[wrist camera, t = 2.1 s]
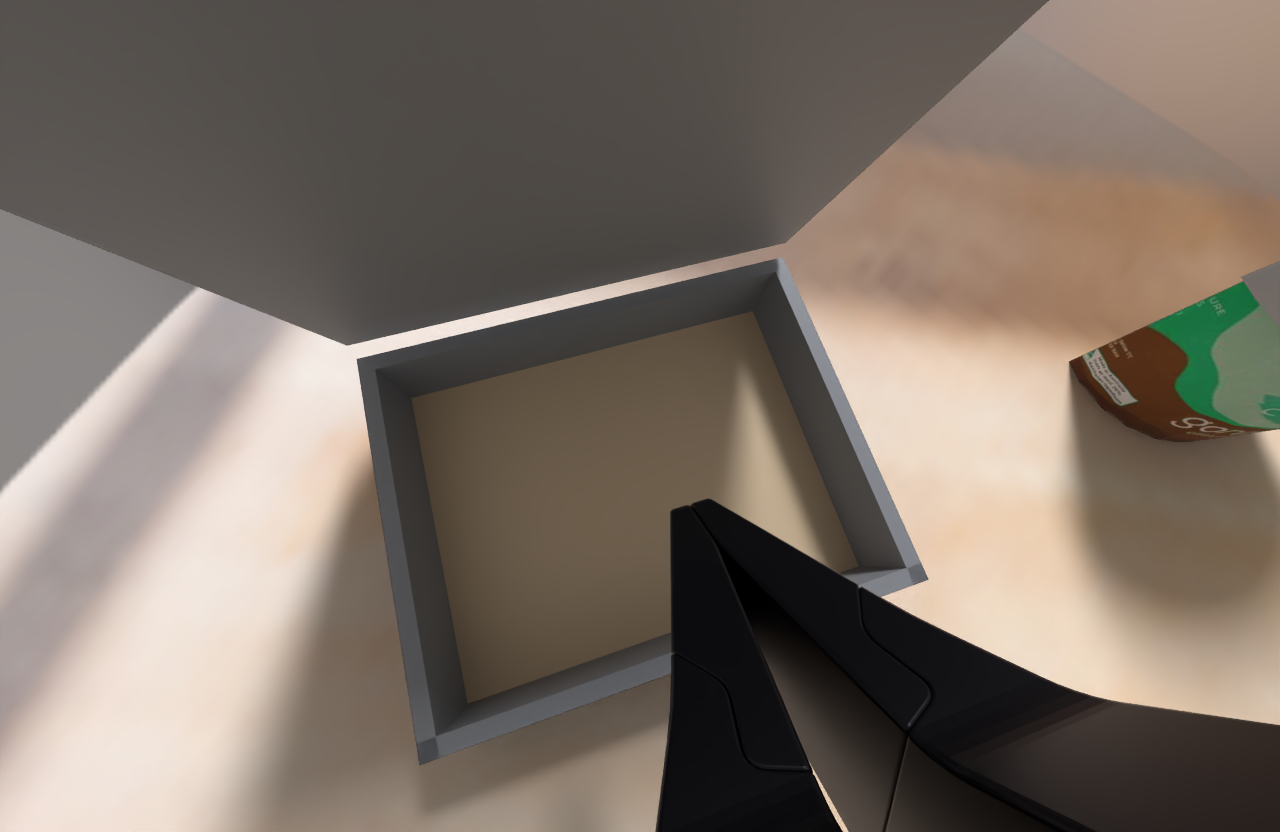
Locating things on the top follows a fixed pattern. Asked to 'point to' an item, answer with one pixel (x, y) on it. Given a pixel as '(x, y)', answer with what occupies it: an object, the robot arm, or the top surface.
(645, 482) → the box
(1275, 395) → the food container
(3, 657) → the top surface
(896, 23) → the mailer lid
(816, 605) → the robot arm
